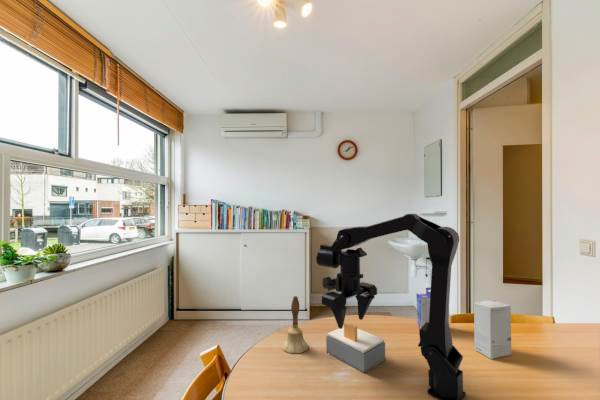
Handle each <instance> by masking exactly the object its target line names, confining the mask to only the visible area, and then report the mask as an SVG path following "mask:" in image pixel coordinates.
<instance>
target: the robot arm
mask: <svg viewBox="0 0 600 400" xmlns="http://www.w3.org/2000/svg"><path fill="white" fill-rule="evenodd" d="M404 231H408V232H411V233H412V234H413V235H414V236H415V237H417V238H418V239H420V240H421V241H422V242H424V243H426V244H427V245H426V246H427V250H428V252H427V253H428V256H429V259H430V262H431V278H430V279H431V280H430V288H431V290H430V292H431V293H430V310H429V323H428V322H426V323H425V324H424V325H423V326H422V327H421V329H419V333H418V334H419V343H418V345H417V347H419V348H420V353H421V356H422V357H423V358H424V359H425V360H426V362H427V364H428V368H429V369H428V370H427V372H428V387H429V388H428V389H427V390H426V391H427V392H426V393H427V394H429V395H430V396H432V397H434V398H436V399H438V400H464V398H465V397H466V395H467V393H466V391H464V378H463V377H464V374H463V373H464V371H463V370H461V369H460V366H461V363H462V361H463V360H464V359H463V358H464V357H463V356H464V355H462V353H461V352H459V350H458V349H457V348H456V347H455V346H454V345H453V339H452V338H453V337H452V331H451V328H450V323H449V324H448V313H449V314H450V297H451V280H452V279H451V275H452V265H453V263H454V259H455V256H456V254H457V249H458V246H459V243H460V236H459V233H458V232H457V231H456V230H455V229H454V228H452V227H449V226H441V225H439V224H437V223H435V222H433V221H430V220H428V219H426V218H424V217H422V216H420V215H418V214H417V213H406V214H404V215H403V216H399V217H395V218H392V219H388V220H385V221H381V222H377V223H374V224H370V225H367V226H366V225H364V226H353V227H347V228H341V229H340V230H338V231H337V235H336V238H335V240H334V242H333V243H332V244H331V245H330V244H327V243H326V244H325V243H324V244H323V243H322V244H321V245H319V246H320V247H319V250H318V251H317V254H316V257H315V259H316V264H317V265H318V266H319V267H324V268H331V269H338V268H339V267H340V270H339V271H340V272H339V273H336V277H335V278H332V277H330V276H327V277H323V278H322V283H321V284H322V288H323V289H324V290H327V292H326V293H323V295H322V296H321V305H324V306H326V308H329V309H330V310H331V311H332V315H333V316H334V319H335V322H336V325H337V327H338V328H340V329H342V328H343V326H344V323H345V320H346V319H345V318H346V314H347V306H346V304H347V300H348V299H350V298H351V299H352V298H355V299H356V302H357V314H358V315H357V316H358V319H359V320H361V321H362V320H363V319H364V317H365V315H366V313H367V312H368V309H369V307H370V305H371V303H372V302H373V300H374V299H375V297H376V296H377V295H378V288H377V287H376V285H375V284H371V283H368V282H363V281H361V279H364V274H363V273H361V263H360V262H361V258H363V257H365V256H368V253H367V252H366V251H365V250H364V249H363V248H362V247H358V248H356V249H351V248H354V247H357V246H360V245H363V244H365V243H366V242H368V241H371V240H372V239H375V238H378V237H382V236H388V235H391V234H395V233H399V232H404ZM345 250H346V251H345ZM331 290H332V291H331ZM333 290H335V291H333ZM338 292H340V293H338Z"/></svg>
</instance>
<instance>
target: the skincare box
mask: <svg viewBox="0 0 600 400" xmlns="http://www.w3.org/2000/svg"><path fill="white" fill-rule="evenodd" d="M473 311H474V312H473V317H474V320H473V322H474V323H473V325H474V328H473V329H474V330H473V331H474V339H473V340H474V350H475V351H476V352H478V353H480V354H482V355H483V356H485V357H487V358H488V359H489V360H490V359H491V360H493V359H496V358H497V359H498V358H500V357H507V356H512V324H511V323H512V322H511V314H512V313H511V305H510V304H507V303H503V302H501V301H497V300H494V299H493V300H482V301H474V302H473Z"/></svg>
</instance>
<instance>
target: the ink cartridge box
mask: <svg viewBox="0 0 600 400" xmlns="http://www.w3.org/2000/svg"><path fill="white" fill-rule="evenodd" d="M430 293H431V287H425V293H416V313H417V314H416V316H417V322H416V323H417V328H418V329H419V330H420V329H421V327H422V326H423V325H424V324H425V323H426V322H428V323H429V310H430ZM448 324H449V325H450V312H449V313H448Z"/></svg>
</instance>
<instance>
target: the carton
mask: <svg viewBox="0 0 600 400" xmlns="http://www.w3.org/2000/svg"><path fill="white" fill-rule="evenodd" d="M325 342H326V343H325V345H326V354H328V353H329V354H328V355H330V356H332V357H334V358H335V359H337V360H339V361H341V362H342V363H344V364H346V365H348V366H350V367H352V368H353V369H356V370H357V371H359V372H360V373H363V374H366V373H367V372H368V371H371V370H372V369H374V368H375V367H376V366H378V365H379V364H381V363H383V362H384V361H386V342H385V341H384V342H382V343H381V344H379V345H377V346H375V347H374V348H372V349H370V350H368V351H366V352H365V353H362V352H360V351H358V350H356V349H354V348H352V347H350V346H348V345H346V344H344V343H342V342H340V341H338V340H336V339H334V338H332V337H330V336H328V335H326V340H325Z"/></svg>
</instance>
